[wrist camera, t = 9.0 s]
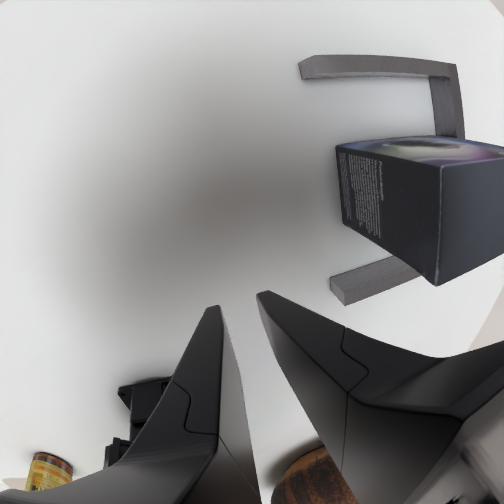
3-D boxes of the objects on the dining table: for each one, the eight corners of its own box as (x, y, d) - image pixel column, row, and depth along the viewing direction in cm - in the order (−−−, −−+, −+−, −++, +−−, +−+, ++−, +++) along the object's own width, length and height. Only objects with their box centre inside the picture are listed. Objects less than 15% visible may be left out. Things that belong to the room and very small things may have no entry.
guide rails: (443, 247, 26) (460, 257, 24) (330, 290, 24) (344, 306, 22) (435, 66, 18) (455, 64, 16) (298, 62, 17) (313, 55, 15)
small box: (435, 130, 21) (537, 150, 11) (437, 201, 24) (528, 243, 14) (332, 140, 20) (445, 161, 10) (341, 227, 22) (436, 295, 13)
